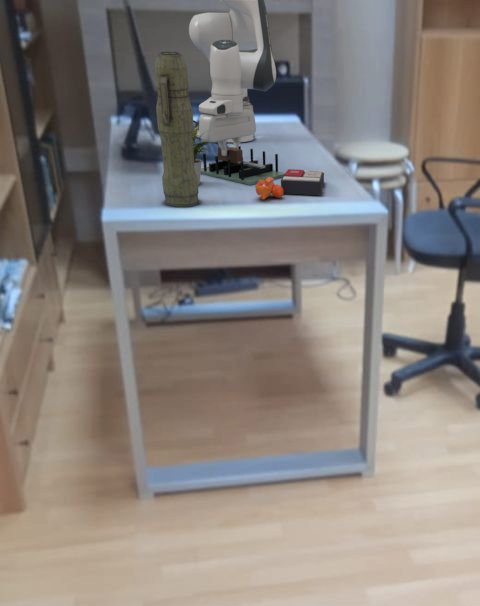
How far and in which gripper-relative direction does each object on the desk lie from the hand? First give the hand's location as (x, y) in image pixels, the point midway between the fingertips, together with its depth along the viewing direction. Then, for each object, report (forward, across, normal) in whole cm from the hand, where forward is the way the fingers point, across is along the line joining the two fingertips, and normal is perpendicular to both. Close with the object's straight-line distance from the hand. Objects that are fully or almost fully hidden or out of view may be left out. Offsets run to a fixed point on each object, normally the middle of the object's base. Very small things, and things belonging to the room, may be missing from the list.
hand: (229, 154), depth 232 cm
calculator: (+5, 0, +28) cm, 29 cm away
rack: (+5, 0, +4) cm, 7 cm away
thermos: (+5, +34, +15) cm, 38 cm away
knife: (+2, 0, +4) cm, 5 cm away
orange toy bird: (+5, +14, +28) cm, 32 cm away
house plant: (+5, +20, +2) cm, 21 cm away
